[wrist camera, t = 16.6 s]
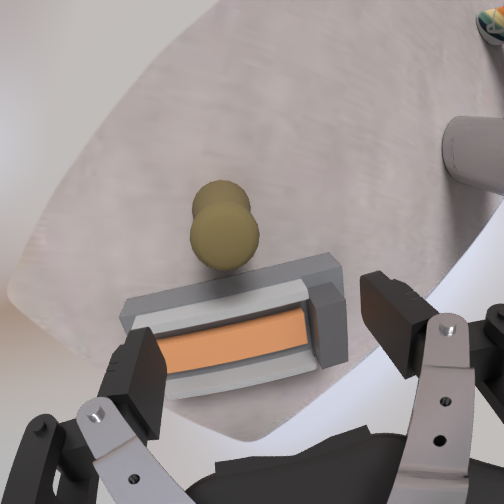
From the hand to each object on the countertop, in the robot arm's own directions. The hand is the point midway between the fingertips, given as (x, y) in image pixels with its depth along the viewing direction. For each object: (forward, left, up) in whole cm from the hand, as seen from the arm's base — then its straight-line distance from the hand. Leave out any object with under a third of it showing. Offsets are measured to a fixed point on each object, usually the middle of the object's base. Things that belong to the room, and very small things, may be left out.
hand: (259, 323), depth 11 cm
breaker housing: (+2, +14, -22) cm, 26 cm away
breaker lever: (+4, +14, -18) cm, 23 cm away
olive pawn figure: (+1, +1, -23) cm, 23 cm away
